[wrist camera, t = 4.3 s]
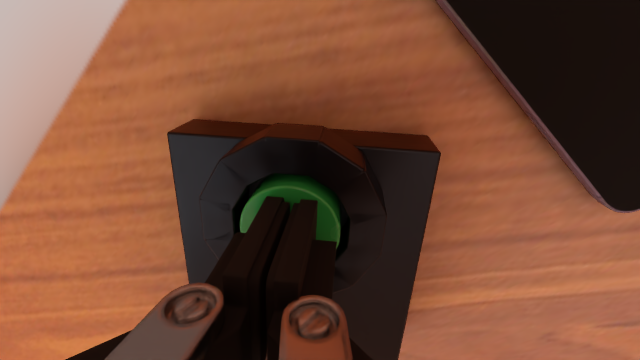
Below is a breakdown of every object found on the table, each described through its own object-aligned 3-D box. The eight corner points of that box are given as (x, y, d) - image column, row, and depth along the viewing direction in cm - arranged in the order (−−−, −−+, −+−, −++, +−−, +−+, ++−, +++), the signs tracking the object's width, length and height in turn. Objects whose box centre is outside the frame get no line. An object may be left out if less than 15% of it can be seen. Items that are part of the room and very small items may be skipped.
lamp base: (190, 103, 14) (132, 126, 10) (431, 119, 13) (462, 151, 9) (214, 310, 18) (179, 377, 15) (392, 330, 18) (402, 405, 14)
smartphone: (598, -391, 7) (851, 92, 10) (569, -338, 9) (806, 88, 11) (360, -100, 10) (618, 224, 13) (360, -86, 11) (599, 211, 14)
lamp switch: (251, 162, 12) (236, 181, 10) (345, 169, 12) (344, 190, 10) (255, 240, 13) (241, 269, 12) (338, 248, 13) (336, 278, 11)
